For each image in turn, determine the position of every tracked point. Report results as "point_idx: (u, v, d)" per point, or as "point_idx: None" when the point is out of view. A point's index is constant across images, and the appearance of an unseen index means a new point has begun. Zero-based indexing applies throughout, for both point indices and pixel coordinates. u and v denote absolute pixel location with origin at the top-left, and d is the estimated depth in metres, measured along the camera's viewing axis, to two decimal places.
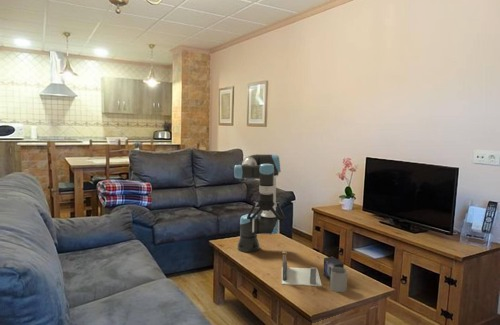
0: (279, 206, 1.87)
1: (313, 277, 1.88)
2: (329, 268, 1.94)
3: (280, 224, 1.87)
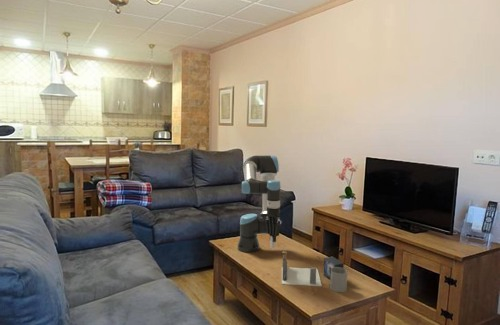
0: (280, 224, 2.00)
1: (313, 277, 1.88)
2: (329, 268, 1.94)
3: (273, 239, 2.04)
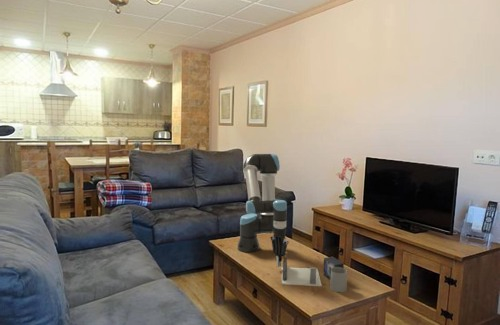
0: (286, 245, 2.01)
1: (313, 277, 1.88)
2: (329, 268, 1.94)
3: (279, 259, 2.04)
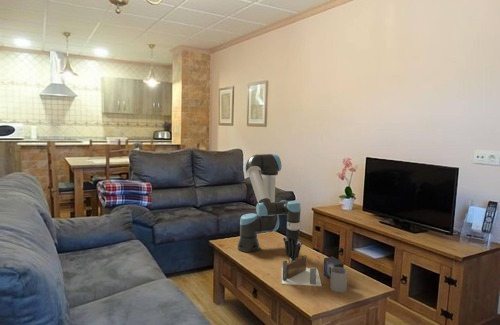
0: (299, 246, 1.98)
1: (313, 277, 1.88)
2: (329, 268, 1.94)
3: None
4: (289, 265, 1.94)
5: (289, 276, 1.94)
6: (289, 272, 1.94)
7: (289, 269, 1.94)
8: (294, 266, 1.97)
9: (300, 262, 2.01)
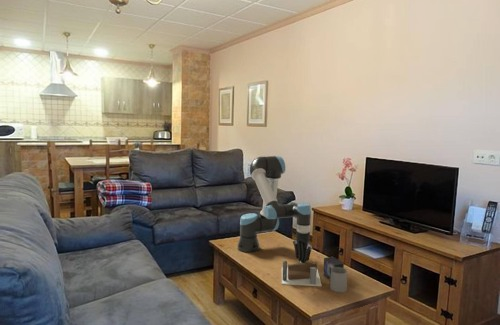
0: (310, 250, 1.94)
1: (313, 277, 1.88)
2: (329, 268, 1.94)
3: None
4: (290, 266, 1.92)
5: (290, 277, 1.93)
6: (290, 273, 1.92)
7: (290, 270, 1.92)
8: (297, 269, 1.93)
9: (307, 267, 1.94)
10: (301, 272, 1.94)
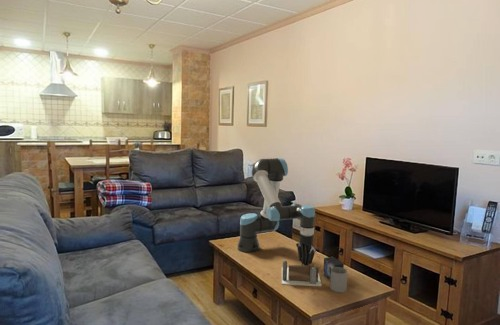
0: (313, 253, 1.90)
1: (313, 277, 1.88)
2: (329, 268, 1.94)
3: None
4: (290, 267, 1.91)
5: (290, 278, 1.92)
6: (290, 274, 1.92)
7: (290, 271, 1.91)
8: (297, 271, 1.91)
9: (308, 270, 1.90)
10: (301, 274, 1.91)
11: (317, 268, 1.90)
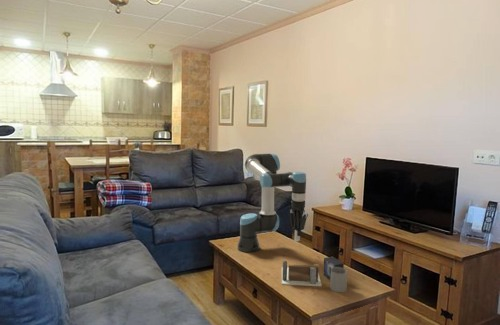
0: (305, 218, 1.93)
1: (313, 277, 1.88)
2: (329, 268, 1.94)
3: (298, 233, 1.96)
4: (290, 267, 1.91)
5: (290, 278, 1.92)
6: (290, 274, 1.92)
7: (290, 271, 1.91)
8: (297, 271, 1.91)
9: (308, 270, 1.90)
10: (301, 274, 1.91)
11: (317, 268, 1.90)
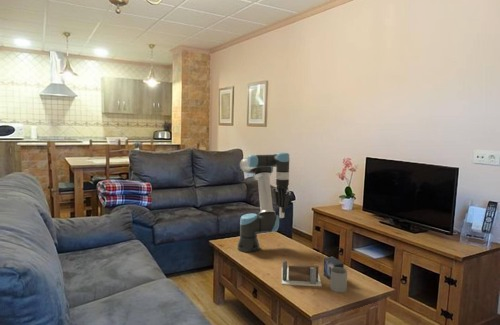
0: (289, 195, 2.06)
1: (313, 277, 1.88)
2: (329, 268, 1.94)
3: (282, 210, 2.10)
4: (290, 267, 1.91)
5: (290, 278, 1.92)
6: (290, 274, 1.92)
7: (290, 271, 1.91)
8: (297, 271, 1.91)
9: (308, 270, 1.90)
10: (301, 274, 1.91)
11: (317, 268, 1.90)
